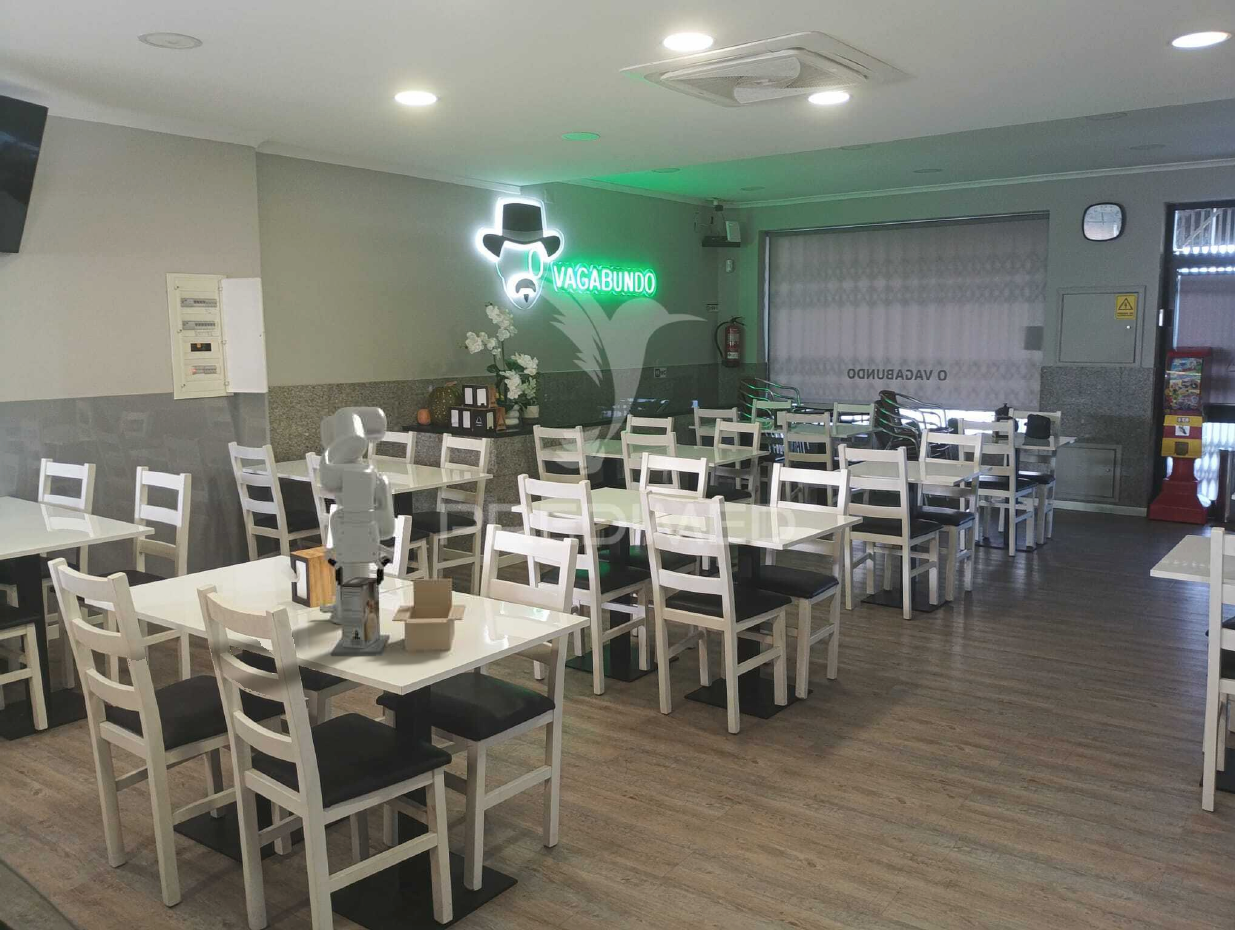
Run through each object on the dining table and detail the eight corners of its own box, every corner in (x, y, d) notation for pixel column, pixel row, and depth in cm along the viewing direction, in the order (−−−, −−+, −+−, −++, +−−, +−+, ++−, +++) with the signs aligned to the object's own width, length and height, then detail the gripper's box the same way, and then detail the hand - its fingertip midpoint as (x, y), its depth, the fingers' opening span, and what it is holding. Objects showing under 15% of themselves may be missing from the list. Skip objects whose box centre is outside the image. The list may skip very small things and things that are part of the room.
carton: (390, 654, 233) (389, 595, 231) (400, 635, 250) (399, 579, 248) (461, 653, 234) (460, 594, 233) (466, 633, 251) (465, 578, 250)
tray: (331, 655, 231) (331, 651, 231) (342, 639, 245) (342, 635, 245) (381, 654, 233) (381, 650, 232) (389, 638, 246) (389, 634, 246)
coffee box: (357, 637, 244) (356, 576, 242) (380, 638, 243) (379, 577, 241) (341, 647, 235) (339, 584, 233) (365, 649, 234) (363, 585, 232)
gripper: (319, 519, 231) (321, 588, 233) (391, 519, 233) (392, 587, 235) (326, 514, 239) (327, 580, 241) (395, 514, 240) (396, 579, 242)
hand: (359, 583), depth 238 cm, fingers open, 9 cm apart
